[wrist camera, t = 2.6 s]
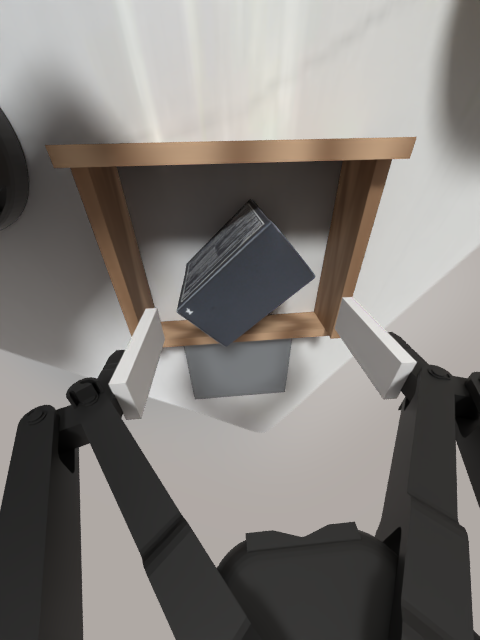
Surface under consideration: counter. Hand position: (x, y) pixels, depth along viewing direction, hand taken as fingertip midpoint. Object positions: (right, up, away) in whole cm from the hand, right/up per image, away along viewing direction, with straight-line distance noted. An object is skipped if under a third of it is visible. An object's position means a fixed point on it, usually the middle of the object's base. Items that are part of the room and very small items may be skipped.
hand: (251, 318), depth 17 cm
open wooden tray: (-1, +8, +11) cm, 13 cm away
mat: (-1, -8, +21) cm, 23 cm away
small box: (-1, +8, +11) cm, 14 cm away
